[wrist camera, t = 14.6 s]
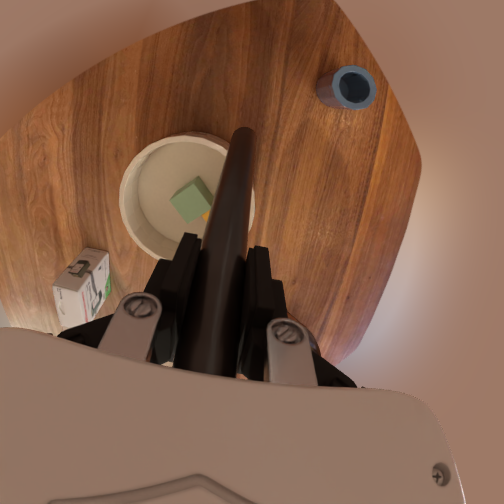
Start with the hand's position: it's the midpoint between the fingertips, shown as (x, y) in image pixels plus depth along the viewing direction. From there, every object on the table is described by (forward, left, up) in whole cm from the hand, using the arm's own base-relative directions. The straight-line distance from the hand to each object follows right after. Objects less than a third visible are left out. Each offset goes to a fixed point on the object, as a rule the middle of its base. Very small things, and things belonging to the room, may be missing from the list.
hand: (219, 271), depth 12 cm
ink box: (+23, -21, -29) cm, 43 cm away
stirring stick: (-4, 0, -14) cm, 15 cm away
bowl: (+6, -6, -29) cm, 30 cm away
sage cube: (+7, -5, -29) cm, 30 cm away
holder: (-12, +10, -29) cm, 33 cm away
